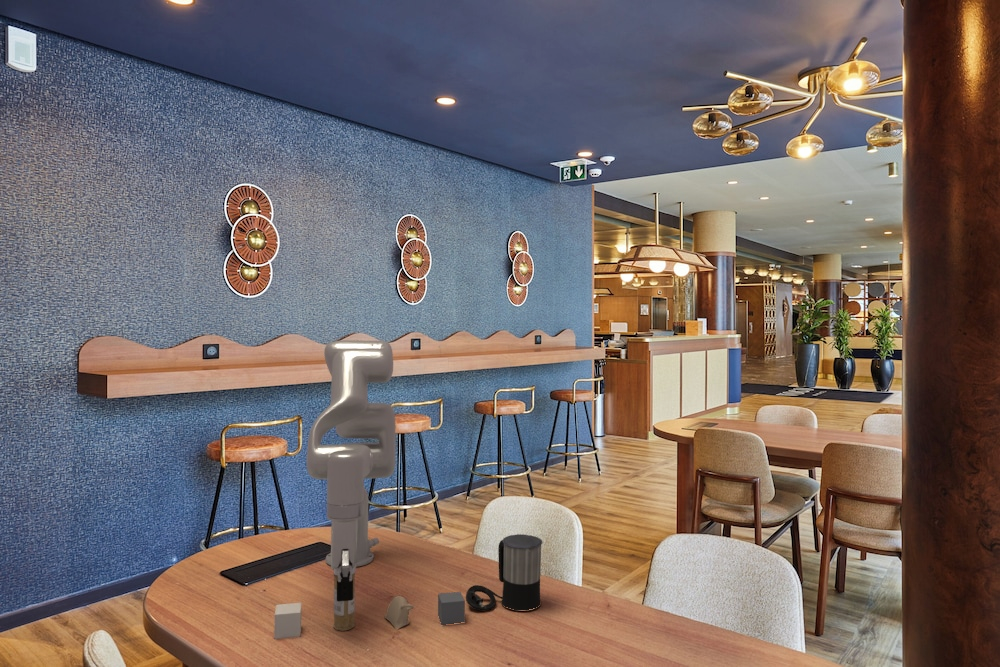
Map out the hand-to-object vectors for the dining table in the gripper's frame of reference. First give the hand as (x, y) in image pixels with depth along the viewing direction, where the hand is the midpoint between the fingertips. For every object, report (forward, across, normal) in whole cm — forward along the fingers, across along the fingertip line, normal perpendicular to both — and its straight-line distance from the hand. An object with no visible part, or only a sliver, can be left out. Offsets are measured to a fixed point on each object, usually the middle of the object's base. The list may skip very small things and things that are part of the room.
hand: (344, 591), depth 140 cm
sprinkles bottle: (+8, -1, 0) cm, 8 cm away
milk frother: (+8, -4, +36) cm, 37 cm away
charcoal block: (+8, +1, +23) cm, 24 cm away
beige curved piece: (+8, 0, +12) cm, 14 cm away
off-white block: (+8, -1, -11) cm, 14 cm away
